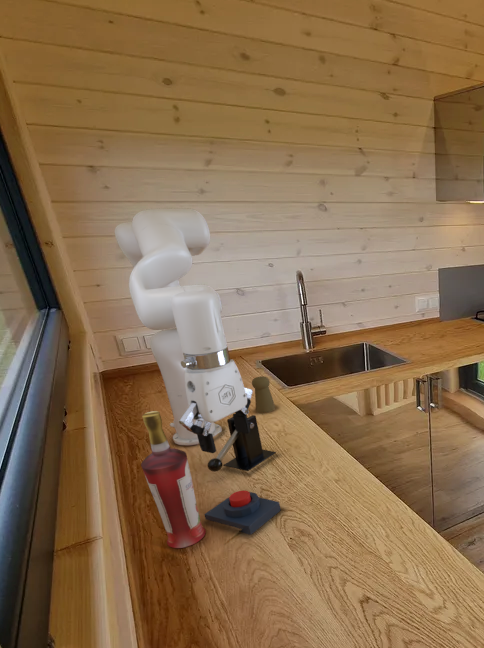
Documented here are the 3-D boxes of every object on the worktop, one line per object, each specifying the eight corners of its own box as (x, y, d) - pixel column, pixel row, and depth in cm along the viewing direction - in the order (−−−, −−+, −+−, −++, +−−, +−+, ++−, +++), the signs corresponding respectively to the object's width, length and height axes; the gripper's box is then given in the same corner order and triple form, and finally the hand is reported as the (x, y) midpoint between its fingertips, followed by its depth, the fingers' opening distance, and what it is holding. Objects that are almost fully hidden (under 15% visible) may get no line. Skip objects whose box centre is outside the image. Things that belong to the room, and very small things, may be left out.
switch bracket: (248, 474, 121) (238, 428, 116) (224, 469, 124) (213, 423, 119) (276, 455, 130) (268, 412, 125) (252, 451, 132) (243, 408, 127)
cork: (269, 413, 155) (262, 381, 151) (252, 412, 156) (245, 380, 152) (279, 406, 161) (273, 374, 156) (262, 405, 162) (256, 373, 158)
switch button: (226, 505, 102) (224, 498, 102) (240, 495, 106) (239, 488, 105) (241, 509, 101) (239, 502, 100) (255, 499, 105) (253, 492, 104)
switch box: (206, 522, 103) (202, 507, 102) (238, 499, 111) (235, 484, 109) (250, 535, 99) (247, 518, 97) (281, 510, 107) (278, 495, 105)
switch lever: (220, 475, 116) (212, 468, 113) (210, 472, 117) (201, 466, 114) (254, 424, 124) (247, 416, 121) (244, 422, 125) (237, 415, 122)
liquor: (169, 535, 99) (130, 410, 88) (209, 526, 102) (176, 403, 91) (165, 558, 93) (122, 426, 82) (207, 547, 96) (171, 418, 85)
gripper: (182, 375, 83) (205, 465, 89) (257, 347, 97) (272, 426, 104) (151, 371, 85) (175, 458, 92) (228, 344, 100) (244, 421, 107)
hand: (226, 441), depth 98 cm, fingers open, 8 cm apart
